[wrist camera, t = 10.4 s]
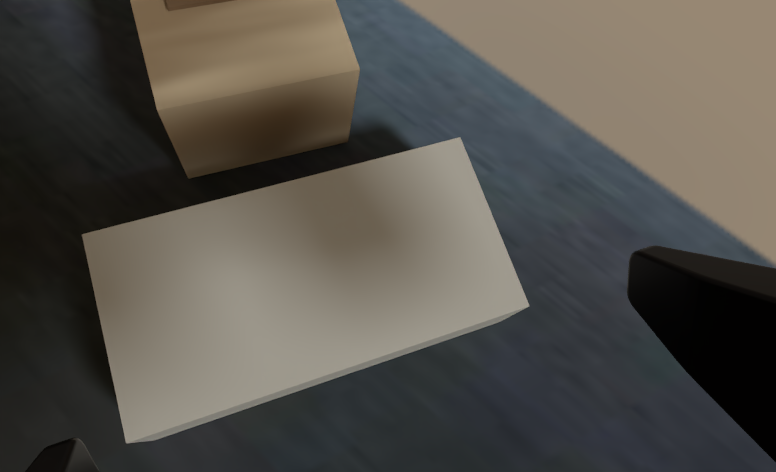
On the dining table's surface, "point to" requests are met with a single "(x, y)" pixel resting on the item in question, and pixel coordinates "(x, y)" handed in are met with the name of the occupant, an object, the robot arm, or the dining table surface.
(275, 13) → the birch block
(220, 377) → the grey plinth
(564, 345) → the dining table surface
